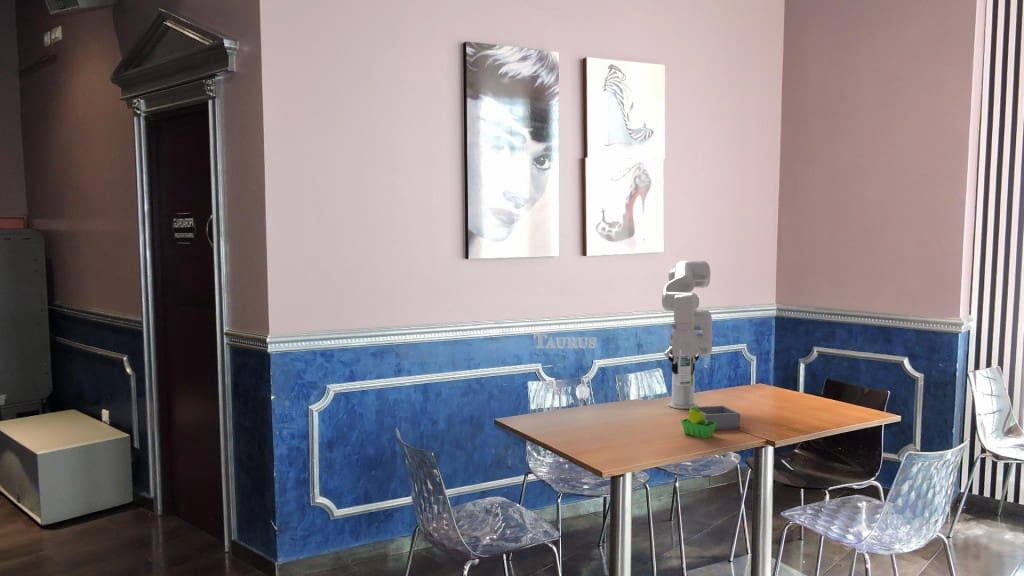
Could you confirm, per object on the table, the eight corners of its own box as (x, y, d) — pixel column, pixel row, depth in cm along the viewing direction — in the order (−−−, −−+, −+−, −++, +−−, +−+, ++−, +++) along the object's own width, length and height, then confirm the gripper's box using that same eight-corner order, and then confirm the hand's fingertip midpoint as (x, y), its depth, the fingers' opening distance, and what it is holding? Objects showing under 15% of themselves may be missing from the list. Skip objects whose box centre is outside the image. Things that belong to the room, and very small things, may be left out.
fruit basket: (717, 435, 296) (718, 405, 295) (704, 440, 290) (705, 409, 289) (691, 430, 304) (691, 401, 303) (677, 434, 298) (678, 404, 297)
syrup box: (679, 386, 305) (679, 348, 304) (672, 383, 311) (673, 346, 310) (693, 385, 306) (693, 348, 305) (686, 382, 312) (686, 345, 311)
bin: (690, 422, 317) (690, 407, 317) (723, 420, 320) (723, 405, 319) (705, 430, 303) (705, 415, 303) (739, 428, 306) (739, 413, 306)
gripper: (665, 328, 302) (665, 375, 303) (708, 327, 305) (708, 374, 306) (658, 326, 309) (658, 372, 311) (701, 325, 312) (700, 370, 313)
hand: (683, 372), depth 308 cm, fingers closed on syrup box, 6 cm apart
